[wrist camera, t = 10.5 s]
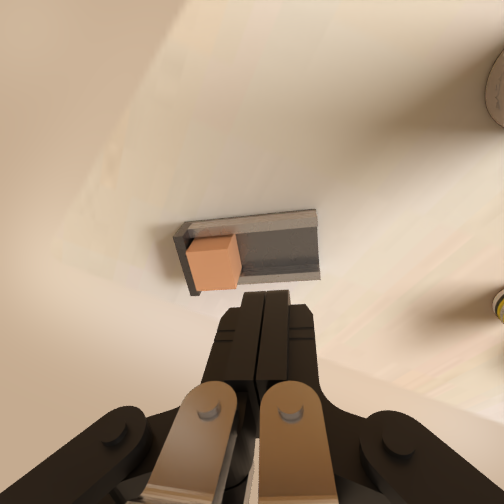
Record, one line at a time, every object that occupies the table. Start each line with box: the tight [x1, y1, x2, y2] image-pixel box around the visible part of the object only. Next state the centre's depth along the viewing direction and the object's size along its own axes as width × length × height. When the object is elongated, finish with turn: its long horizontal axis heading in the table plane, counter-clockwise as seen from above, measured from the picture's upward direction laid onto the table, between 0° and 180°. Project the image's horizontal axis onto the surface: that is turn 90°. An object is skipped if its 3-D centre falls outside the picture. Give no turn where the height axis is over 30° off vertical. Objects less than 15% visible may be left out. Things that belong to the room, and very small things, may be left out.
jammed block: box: [186, 234, 242, 291], centre depth 38 cm, size 5×6×5 cm
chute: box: [173, 209, 321, 296], centre depth 38 cm, size 17×9×4 cm, turn 99°
